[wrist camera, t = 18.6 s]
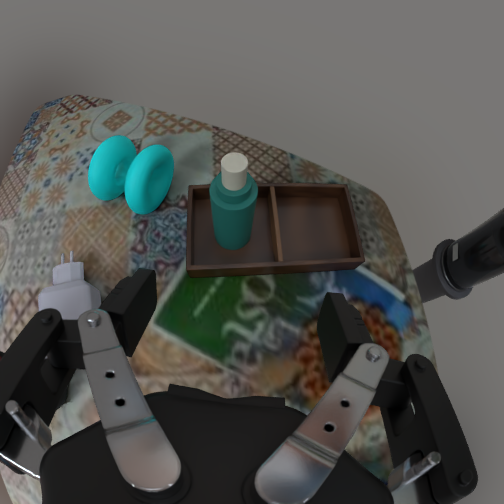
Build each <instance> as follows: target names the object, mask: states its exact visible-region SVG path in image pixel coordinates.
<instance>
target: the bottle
mask: <svg viewBox="0 0 504 504" xmlns="http://www.w3.org/2000/svg"><path fill="white" fill-rule="evenodd" d="M247 169H248V160H247V158H246V157H245V156H244V155H243V154H241V153H236V152H233V153H229V154H227V155H225V156H224V157H223V158H222V161H221V172H220V173H219V174H218V176H216V177H215V178H214V180H213V181H212V183H211V185H210V190H209V191H210V201H211V209H212V218H213V227H214V235H215V239H216V241H217V243H218V244H219V245H220V246H221V247H223V248H225V249H228V250H237V249H240V248H242V247H244V246H245V245H246V244H247V243H248V242H249V240H250V236H251V230H252V224H253V218H254V213H255V207H256V201H257V195H258V187H257V184H256V182H255V180H254V179H253V178H252V177H251V176H250V174H249V173H248V172H247Z"/></svg>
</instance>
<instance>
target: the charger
mask: <svg viewBox="0 0 504 504" xmlns="http://www.w3.org/2000/svg"><path fill="white" fill-rule="evenodd" d="M38 298H39V311H41V310H43V309H47V308H54V309H57V310H58V311H59V312H60V313H61V316H62V319H68V320H78V318H79V316H80V315H81V314H82V313H84V312H85V311H88V310H91V309H98V308H99V307H100V305H101V296H100V291H99V290H98V289H97V288H95V287H94V286H93V285H91V284H89V283H88V282H86V281H84V270H83V262H73V251H70V262H69V263H65V264H64V253H62V254H61V265H57V266H56V267H55V268H53V286H50V287H46V288H43V290H42V291H41V293H40V294H39V296H38ZM47 358H48V357H47V356H46V357H45V359H47Z"/></svg>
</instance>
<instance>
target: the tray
mask: <svg viewBox="0 0 504 504" xmlns="http://www.w3.org/2000/svg"><path fill="white" fill-rule="evenodd" d="M256 184H257V187H258V195H257V201H256V207H255V213H254V218H253V224H252V230H251V236H250V240H249V242H248V243H247V244H246V245H245V246H244V247H242V248H240V249H237V250H228V249H225V248H223V247H221V246H220V245H219V244H218V243H217V241H216V239H215V235H214V227H213V218H212V209H211V201H210V191H209V190H210V185H211V184H209V185H189V188H188V210H187V246H186V270H187V272H188V274H189V276H190V278H199V277H225V276H247V275H268V274H286V273H304V272H320V271H336V270H350V269H356V268H357V267H358V266H360V265H361V264H362V263H363V262H365V258H364V253H363V248H362V243H361V239H360V234H359V230H358V226H357V221H356V217H355V213H354V209H353V205H352V201H351V197H350V194H349V190H348V186H347V185H346V184H318V183H256Z"/></svg>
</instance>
